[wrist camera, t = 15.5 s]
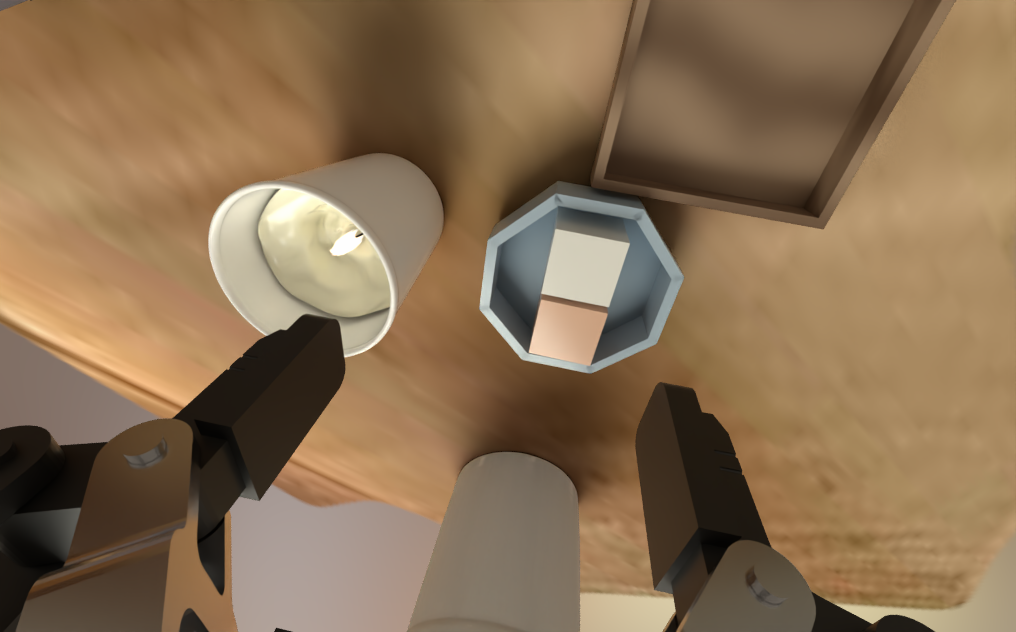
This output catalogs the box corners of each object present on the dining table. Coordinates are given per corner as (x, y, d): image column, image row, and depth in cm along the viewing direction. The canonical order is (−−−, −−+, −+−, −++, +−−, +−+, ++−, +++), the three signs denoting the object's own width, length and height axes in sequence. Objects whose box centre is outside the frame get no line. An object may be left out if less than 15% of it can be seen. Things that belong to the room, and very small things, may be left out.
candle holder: (478, 191, 29) (427, 259, 19) (421, 291, 34) (357, 386, 24) (353, 110, 28) (224, 136, 18) (312, 227, 33) (194, 300, 23)
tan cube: (545, 270, 31) (541, 299, 27) (604, 283, 31) (608, 313, 27) (533, 320, 34) (528, 352, 30) (588, 331, 33) (590, 366, 30)
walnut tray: (661, -117, 20) (672, -139, 18) (959, -73, 20) (1008, -90, 17) (590, 177, 28) (591, 187, 26) (803, 216, 27) (823, 229, 25)
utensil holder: (458, 524, 51) (411, 711, 37) (441, 441, 44) (373, 634, 29) (579, 537, 49) (580, 741, 34) (583, 451, 42) (587, 666, 27)
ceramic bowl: (503, 168, 28) (494, 181, 25) (692, 202, 28) (707, 220, 24) (483, 324, 35) (474, 350, 32) (634, 354, 35) (640, 383, 31)
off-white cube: (558, 206, 29) (555, 229, 25) (622, 219, 28) (630, 243, 25) (545, 265, 31) (541, 293, 27) (604, 277, 31) (608, 307, 27)
